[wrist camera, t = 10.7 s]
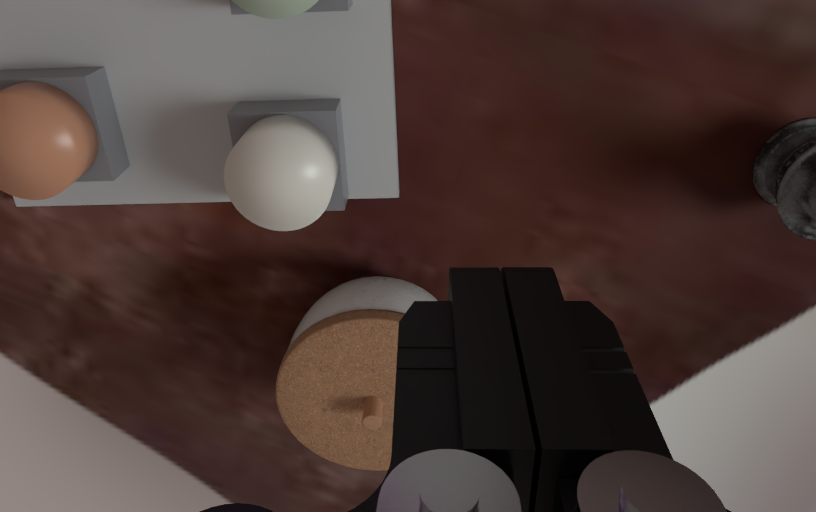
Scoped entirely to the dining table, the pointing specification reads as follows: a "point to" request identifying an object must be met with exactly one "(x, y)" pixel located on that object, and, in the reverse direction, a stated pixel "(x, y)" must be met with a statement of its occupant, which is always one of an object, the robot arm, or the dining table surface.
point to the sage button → (275, 7)
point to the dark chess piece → (790, 176)
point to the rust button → (43, 140)
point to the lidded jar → (347, 371)
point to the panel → (208, 89)
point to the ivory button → (281, 173)
